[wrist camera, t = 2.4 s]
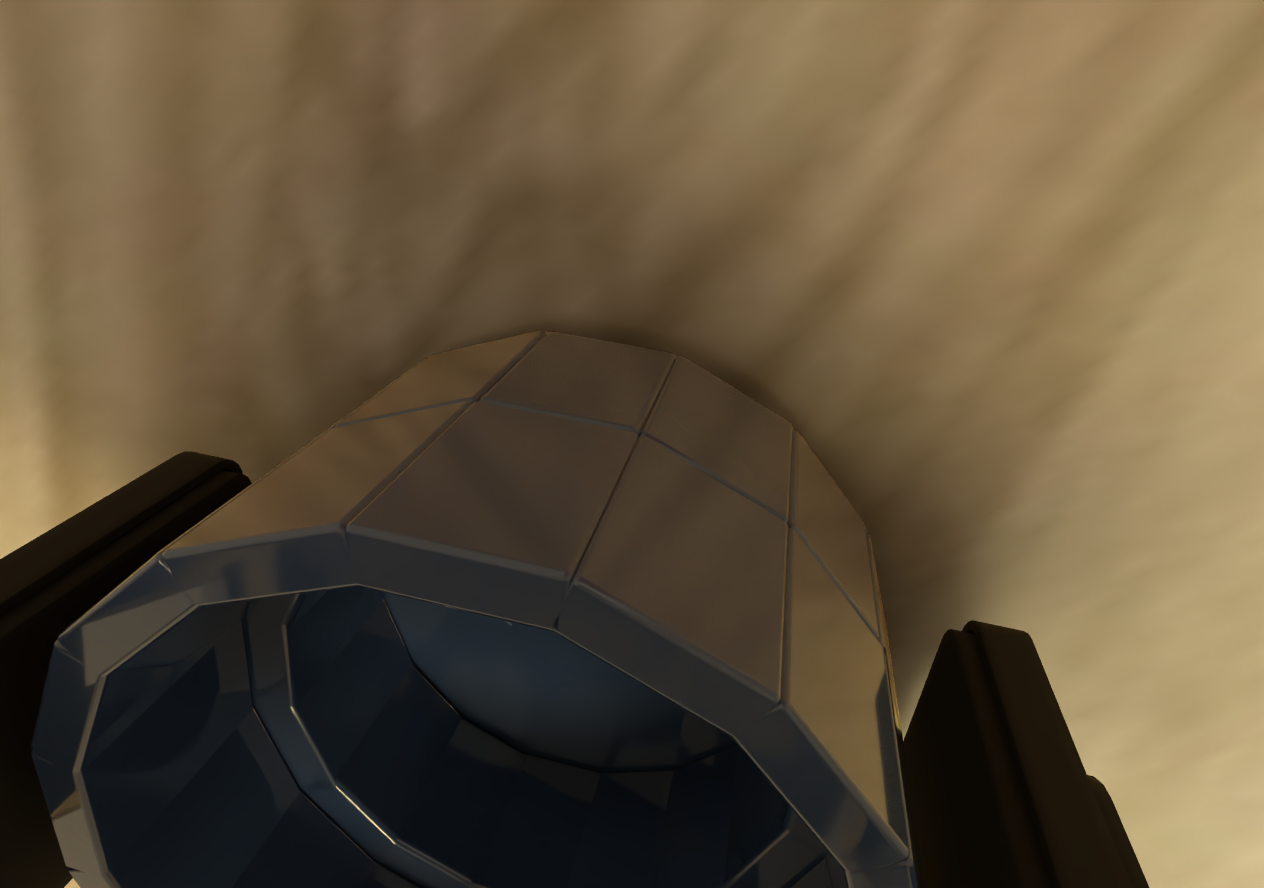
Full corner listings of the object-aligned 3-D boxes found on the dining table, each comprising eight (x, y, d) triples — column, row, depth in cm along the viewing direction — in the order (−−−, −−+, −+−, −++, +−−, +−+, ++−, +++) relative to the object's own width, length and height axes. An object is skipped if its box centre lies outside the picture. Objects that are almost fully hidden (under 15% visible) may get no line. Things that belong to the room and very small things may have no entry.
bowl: (325, 272, 9) (-76, 431, 5) (955, 385, 8) (1104, 696, 4) (350, 721, 12) (118, 1046, 8) (806, 840, 11) (805, 1273, 7)
